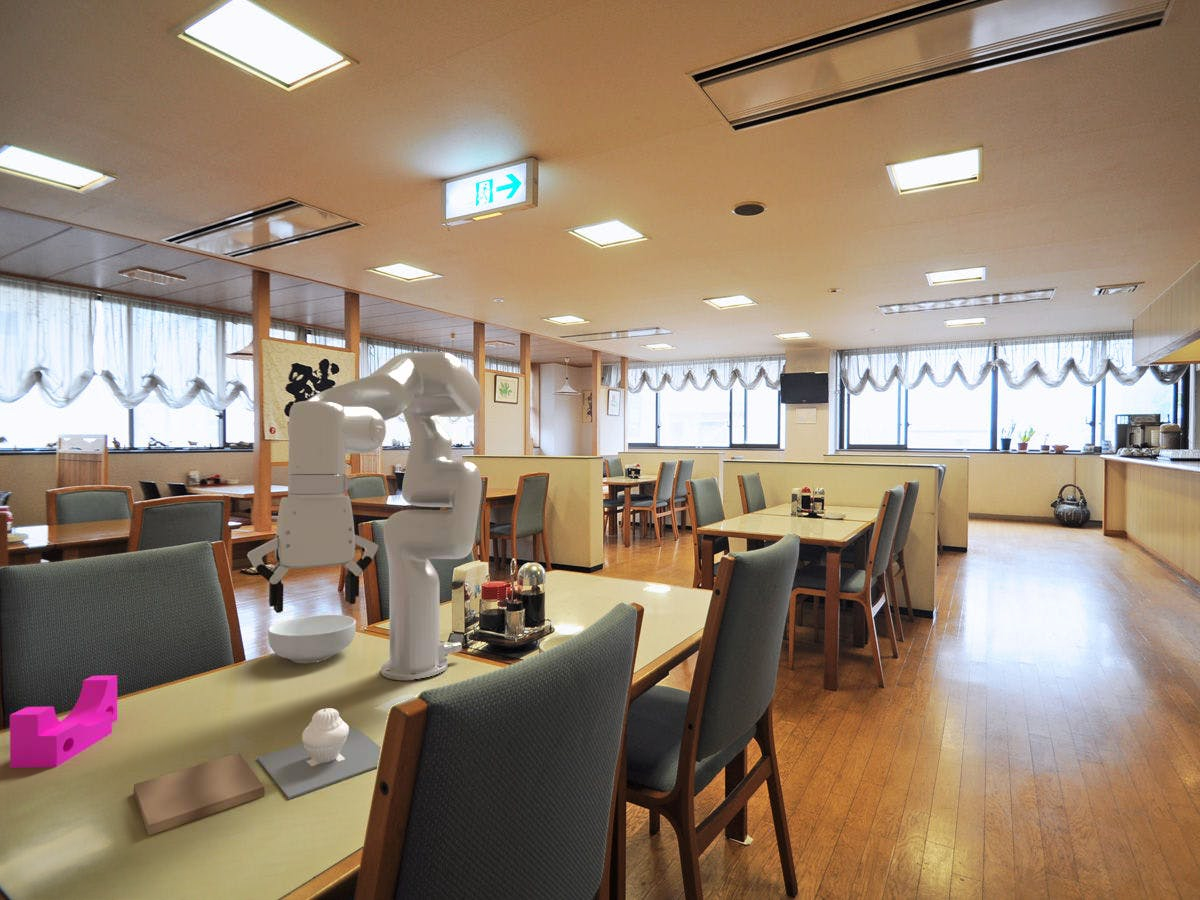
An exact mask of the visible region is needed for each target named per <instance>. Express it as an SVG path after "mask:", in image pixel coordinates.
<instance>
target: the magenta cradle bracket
mask: <svg viewBox="0 0 1200 900" xmlns="http://www.w3.org/2000/svg"><path fill="white" fill-rule="evenodd" d="M116 720H117V721H118V675H115V674H114V675H112V674H111V675H92V676H89V677H88V678H86V679H84V680H83V682H82V688H81V692H80V694H79V696H78V699H77V701H76V703H75V705H74V706H73V708H72V710H71V711H70V712H69V713H68V715H66V716H65V717H64V718H63V719H62V720H61V721H60V719H59V718H58V717H57V714H56V710H55V706H26V707H24V708H22V709H20V710H18V711H16V712H13V713H11V714H10V715H9V747H10V748H9V754H10V755H9V759H10V760H9V761H10V763H9V765H10V766H9V767H13V768H15V769H16V768H20V767H21V768H57V767H59V766H61V765H62V764H64V763H65V762H67V761H69V760H71V759H73V757H75V756H77V755H78V754H80V753H82V752H83V751H86V750H87V749H88V748H91V746H93V745H95V744H96V743H98V742H100V741H101V740H103V739H104V738H107V737H108V736H110V735H111V734H112V733H113V724H114V723H115V722H117V721H116ZM113 722H114V723H113ZM109 734H110V735H109ZM13 768H12V769H13Z"/></svg>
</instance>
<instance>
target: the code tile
mask: <svg viewBox="0 0 1200 900" xmlns="http://www.w3.org/2000/svg"><path fill="white" fill-rule="evenodd" d="M381 748H382V747H381V746H379V744H377V743H376V742H374V740H372V739H371V738H370V737H369V736H367V735H366V734H365V733H364V732H363V731H361V730H360V729H359V728H357V727H350V728H349V733H348V735H347V738H346V741H345V743H344V745H343V747H342V749H341V751H340V753H339V755H338V757H337V758H336V759H335V760H333V761H330V762H328V763H315V762H314V761H313V760H312V758H311V756H310V755H309V753H308V752H307V750H306V749H305V747H304V743H303V742H302V743H299V744H296V745H292V746H289V747H286V748H282V749H280V750H276V751H272V752H269V753H266V754H263V755H260V756H256V759H257V762H259V764H260V765H261V767H263V768H264V770H265V771H266V772H267V774H268V776H270V777H271V779H272V780H273V781H274V783H275V784H276V785H277V786H278V788H279V789H280V790H281V792H282V793H283V794H284V796H286V798H287V799H288V800H291V799H294V798H298V797H299V796H302V795H305V794H308V793H311V792H314V791H317V790H319V789H322V788H325V787H328V786H330V785H333V784H336V783H338V782H342V781H344V780H347V779H349V778H352V777H355V776H358V775H361V774H363V773H367V772H369V771H373V770H375V769H378V768H377V765H378V760H379V755H380V749H381Z"/></svg>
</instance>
